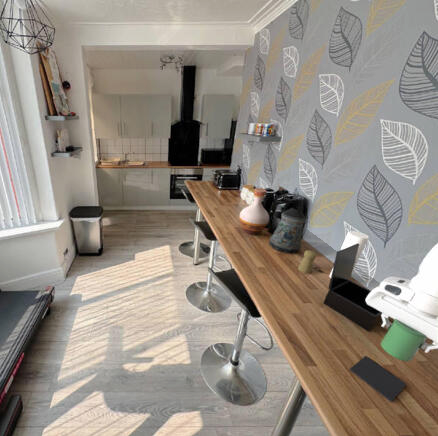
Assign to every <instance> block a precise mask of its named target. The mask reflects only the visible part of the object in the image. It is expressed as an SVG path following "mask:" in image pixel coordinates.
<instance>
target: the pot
mask: <svg viewBox="0 0 438 436" xmlns="http://www.w3.org/2000/svg"><path fill="white" fill-rule="evenodd" d="M391 323H392V325H391V326H390V328H389V329H388V330H386V333H385V334H384V336H383V337H382V339H381V341H380V346H381V348H382V349H383V350H384V352H386V353H387V354H389V355H390V356H391V357H393V358H395V359H397V360H400V361H402V362H410V361H412V360H413V358H414V357H415V356H416V354H417V353H418V351H419V350H420V349H419V348H420V347H421V346H422V344H423V343H424V342H426V340H427V339H428V338H427V336H426V335H424V334H422V333H420V332H419V331H417V330H415V329H413V328H411V327H410V326H408V325H406V324H404V323H402V322H400V321H399V320H397V319H393V321H392V322H391Z"/></svg>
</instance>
